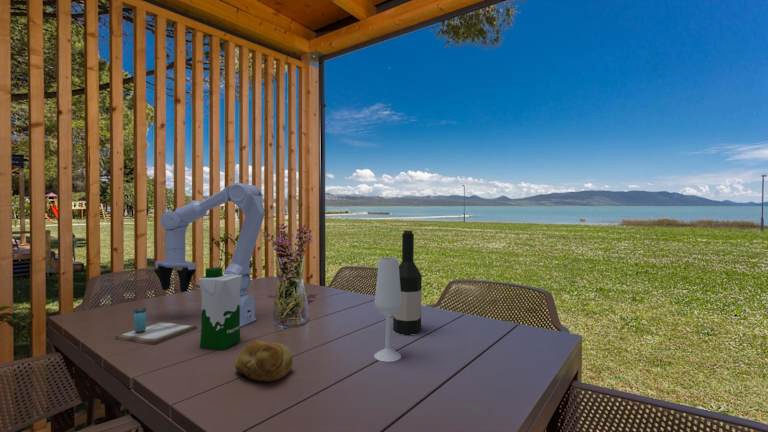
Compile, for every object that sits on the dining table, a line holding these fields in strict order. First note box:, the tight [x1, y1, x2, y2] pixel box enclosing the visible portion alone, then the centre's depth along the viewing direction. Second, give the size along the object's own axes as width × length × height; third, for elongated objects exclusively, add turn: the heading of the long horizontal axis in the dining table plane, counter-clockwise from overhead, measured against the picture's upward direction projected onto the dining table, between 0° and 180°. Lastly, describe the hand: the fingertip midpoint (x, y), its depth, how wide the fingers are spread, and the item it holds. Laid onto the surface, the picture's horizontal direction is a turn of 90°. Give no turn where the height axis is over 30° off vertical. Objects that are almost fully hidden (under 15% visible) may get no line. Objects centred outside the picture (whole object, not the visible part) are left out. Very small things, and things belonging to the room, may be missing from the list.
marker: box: [133, 307, 147, 334], centre depth 101 cm, size 3×3×6 cm
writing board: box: [114, 320, 198, 346], centre depth 103 cm, size 14×14×1 cm
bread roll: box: [234, 340, 294, 383], centre depth 78 cm, size 13×10×8 cm
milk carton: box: [198, 267, 242, 351], centre depth 95 cm, size 9×9×20 cm
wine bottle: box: [392, 230, 423, 336], centre depth 107 cm, size 8×8×30 cm
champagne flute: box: [373, 256, 402, 363], centre depth 88 cm, size 7×7×24 cm
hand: (175, 290), depth 116 cm, fingers open, 7 cm apart
